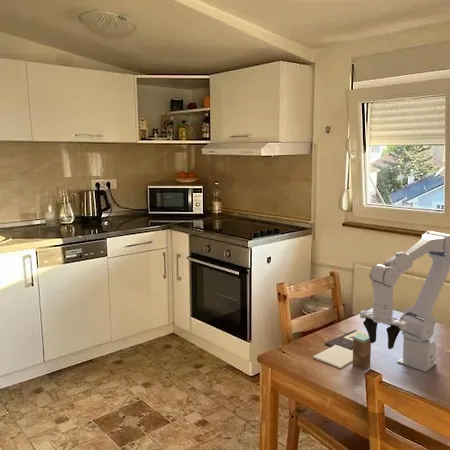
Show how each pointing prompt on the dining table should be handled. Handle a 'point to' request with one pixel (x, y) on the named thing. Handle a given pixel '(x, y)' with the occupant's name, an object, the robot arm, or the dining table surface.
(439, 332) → the dining table surface
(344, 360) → the thin cream panel
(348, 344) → the chocolate bar
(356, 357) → the walnut block
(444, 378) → the dining table surface
